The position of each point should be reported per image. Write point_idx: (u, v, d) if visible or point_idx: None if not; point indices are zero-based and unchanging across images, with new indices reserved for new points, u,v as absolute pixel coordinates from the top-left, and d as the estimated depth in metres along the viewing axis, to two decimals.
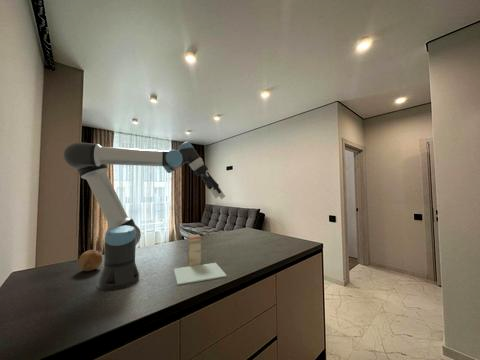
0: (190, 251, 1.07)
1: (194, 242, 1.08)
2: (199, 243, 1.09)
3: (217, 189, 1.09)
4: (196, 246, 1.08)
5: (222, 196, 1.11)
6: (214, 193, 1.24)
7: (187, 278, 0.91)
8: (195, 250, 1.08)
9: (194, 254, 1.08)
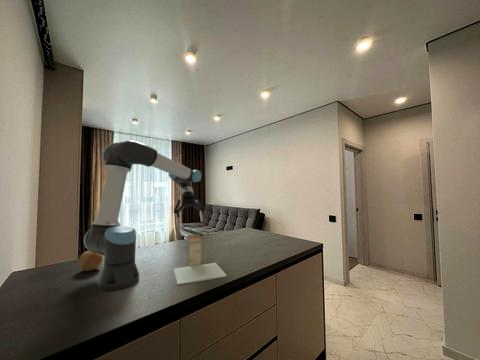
0: (190, 251, 1.07)
1: (194, 242, 1.08)
2: (199, 243, 1.09)
3: None
4: (196, 246, 1.08)
5: None
6: (180, 217, 1.21)
7: (187, 278, 0.91)
8: (195, 250, 1.08)
9: (194, 254, 1.08)
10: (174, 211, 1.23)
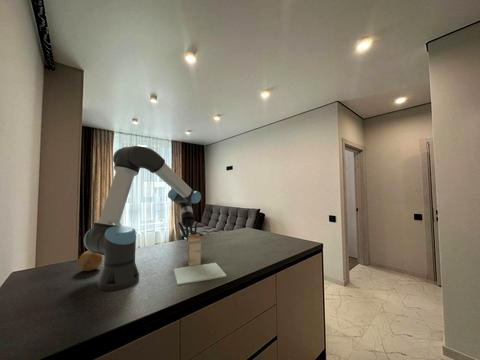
0: (190, 251, 1.07)
1: (194, 242, 1.08)
2: (199, 243, 1.09)
3: None
4: (196, 246, 1.08)
5: None
6: None
7: (187, 278, 0.91)
8: (195, 250, 1.08)
9: (194, 254, 1.08)
10: (185, 235, 1.23)
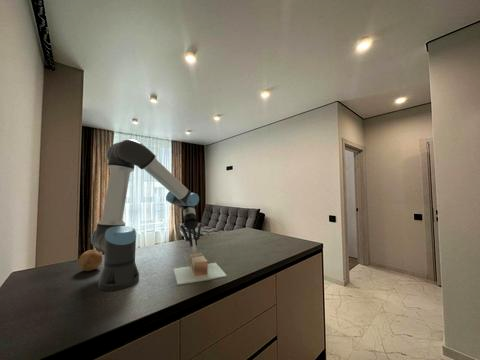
0: None
1: None
2: None
3: (196, 241, 1.15)
4: None
5: None
6: None
7: (187, 278, 0.91)
8: None
9: None
10: (187, 239, 1.14)
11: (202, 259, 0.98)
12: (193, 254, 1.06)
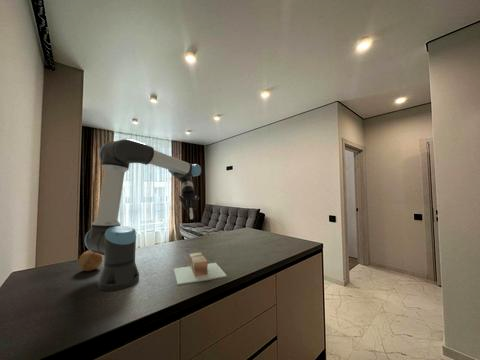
0: None
1: None
2: None
3: (193, 209, 1.24)
4: None
5: None
6: None
7: (187, 278, 0.91)
8: None
9: None
10: (185, 207, 1.23)
11: (202, 259, 0.98)
12: (193, 254, 1.06)
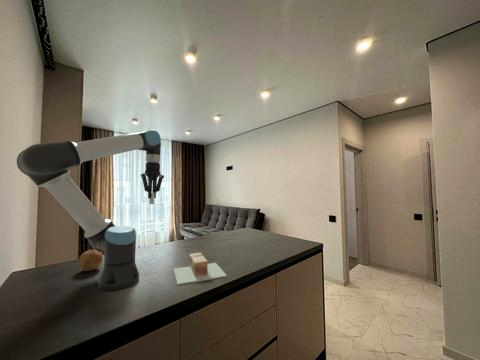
0: None
1: None
2: None
3: (155, 193, 1.16)
4: None
5: None
6: None
7: (187, 278, 0.91)
8: None
9: None
10: (147, 191, 1.12)
11: (202, 259, 0.98)
12: (193, 254, 1.06)
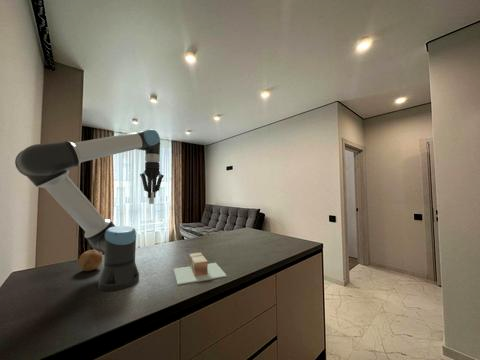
0: None
1: None
2: None
3: None
4: None
5: None
6: None
7: (187, 278, 0.91)
8: None
9: None
10: (146, 190, 1.12)
11: (202, 259, 0.98)
12: (193, 254, 1.06)
